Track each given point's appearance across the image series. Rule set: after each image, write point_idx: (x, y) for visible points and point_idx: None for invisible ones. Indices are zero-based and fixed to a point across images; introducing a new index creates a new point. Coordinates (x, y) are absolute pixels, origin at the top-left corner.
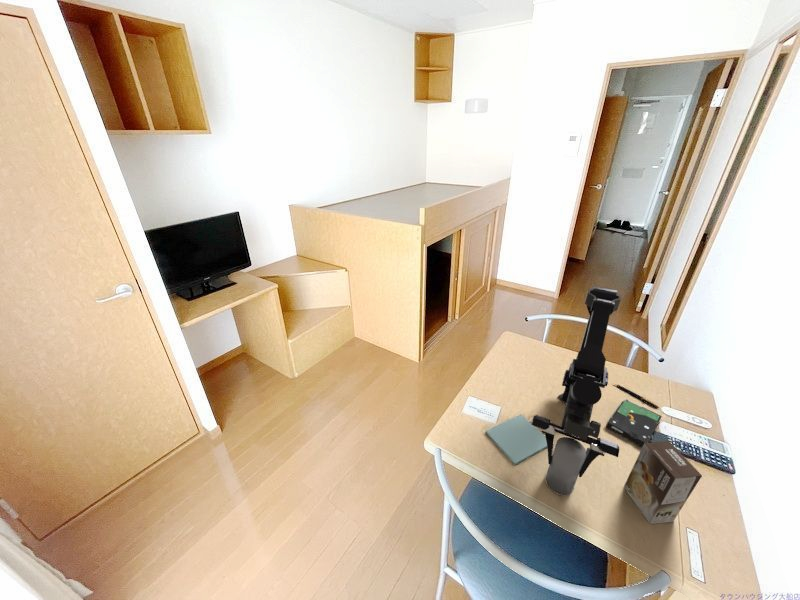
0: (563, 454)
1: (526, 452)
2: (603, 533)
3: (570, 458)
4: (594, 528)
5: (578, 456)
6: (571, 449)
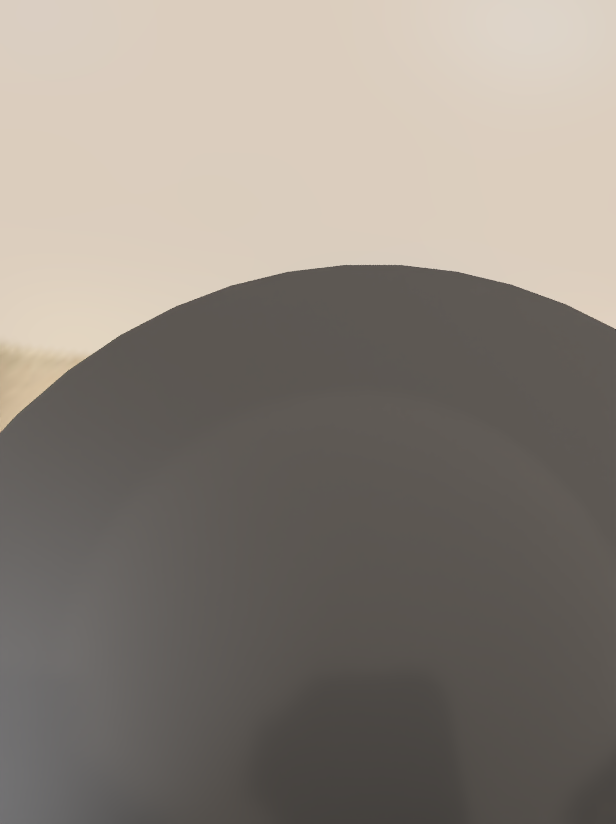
0: (566, 332)
1: None
2: (10, 360)
3: (356, 293)
4: (61, 365)
5: (125, 498)
6: (382, 713)
